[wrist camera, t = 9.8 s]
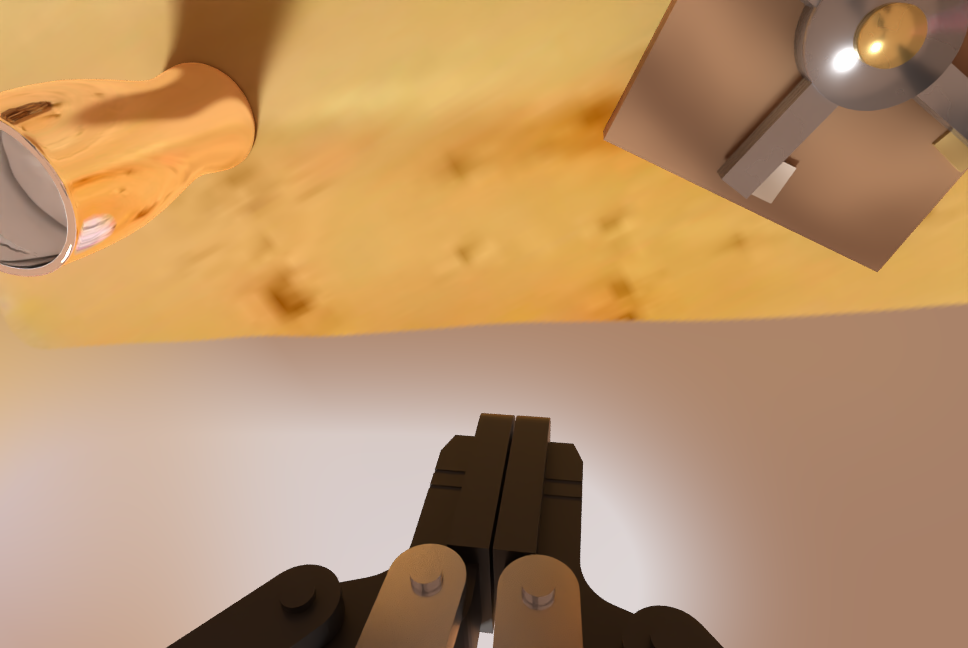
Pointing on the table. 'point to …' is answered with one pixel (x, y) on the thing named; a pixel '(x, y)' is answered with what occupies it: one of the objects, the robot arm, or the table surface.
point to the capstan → (860, 74)
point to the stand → (745, 105)
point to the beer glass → (108, 158)
